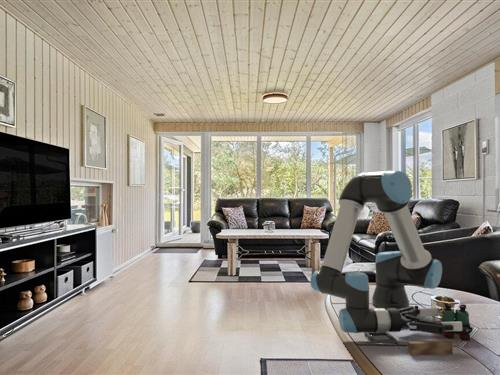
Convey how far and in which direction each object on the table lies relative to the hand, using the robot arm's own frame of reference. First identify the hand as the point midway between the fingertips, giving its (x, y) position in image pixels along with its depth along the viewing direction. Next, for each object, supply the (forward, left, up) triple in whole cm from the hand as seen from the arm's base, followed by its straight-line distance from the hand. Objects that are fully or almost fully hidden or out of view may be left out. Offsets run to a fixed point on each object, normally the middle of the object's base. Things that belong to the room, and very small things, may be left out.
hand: (449, 318), depth 120 cm
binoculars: (+1, +3, -7) cm, 7 cm away
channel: (-7, -11, -6) cm, 14 cm away
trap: (-12, -20, -6) cm, 24 cm away
